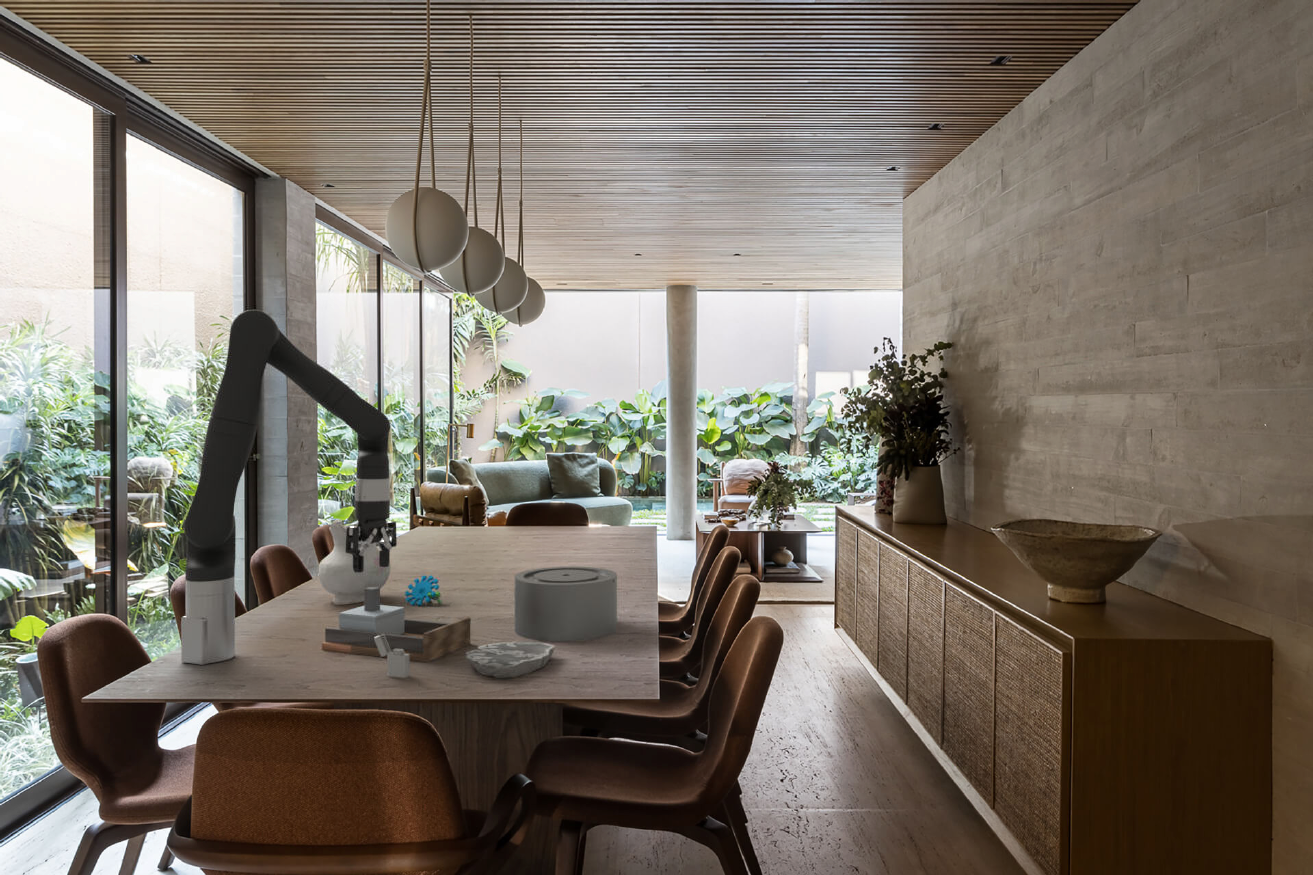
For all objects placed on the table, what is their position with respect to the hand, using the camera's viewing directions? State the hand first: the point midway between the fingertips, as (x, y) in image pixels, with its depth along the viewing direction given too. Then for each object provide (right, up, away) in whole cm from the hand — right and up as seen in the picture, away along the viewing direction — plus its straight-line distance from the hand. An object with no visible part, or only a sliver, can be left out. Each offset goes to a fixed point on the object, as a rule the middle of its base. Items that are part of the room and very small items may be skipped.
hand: (371, 569), depth 185 cm
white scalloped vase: (-22, -17, +49) cm, 56 cm away
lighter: (+12, -17, -24) cm, 32 cm away
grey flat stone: (+34, -18, -17) cm, 42 cm away
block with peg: (0, -15, 0) cm, 15 cm away
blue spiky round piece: (-1, -17, +43) cm, 46 cm away
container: (+43, -17, +15) cm, 48 cm away
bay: (+7, -17, -2) cm, 18 cm away
